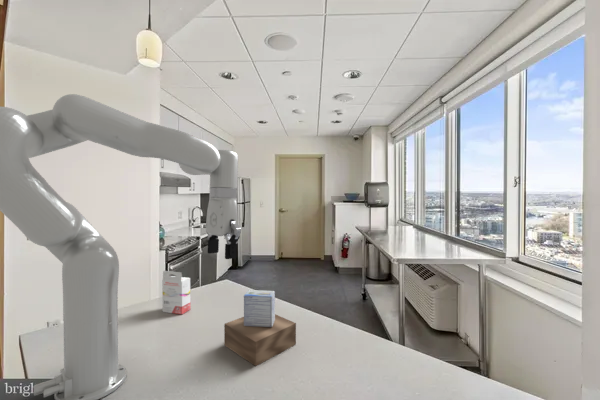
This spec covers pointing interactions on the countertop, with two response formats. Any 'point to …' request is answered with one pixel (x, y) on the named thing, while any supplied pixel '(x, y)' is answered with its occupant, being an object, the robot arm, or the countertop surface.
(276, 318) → the block
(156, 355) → the countertop surface
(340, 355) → the countertop surface
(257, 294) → the medicine box
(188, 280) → the ink cartridge box
